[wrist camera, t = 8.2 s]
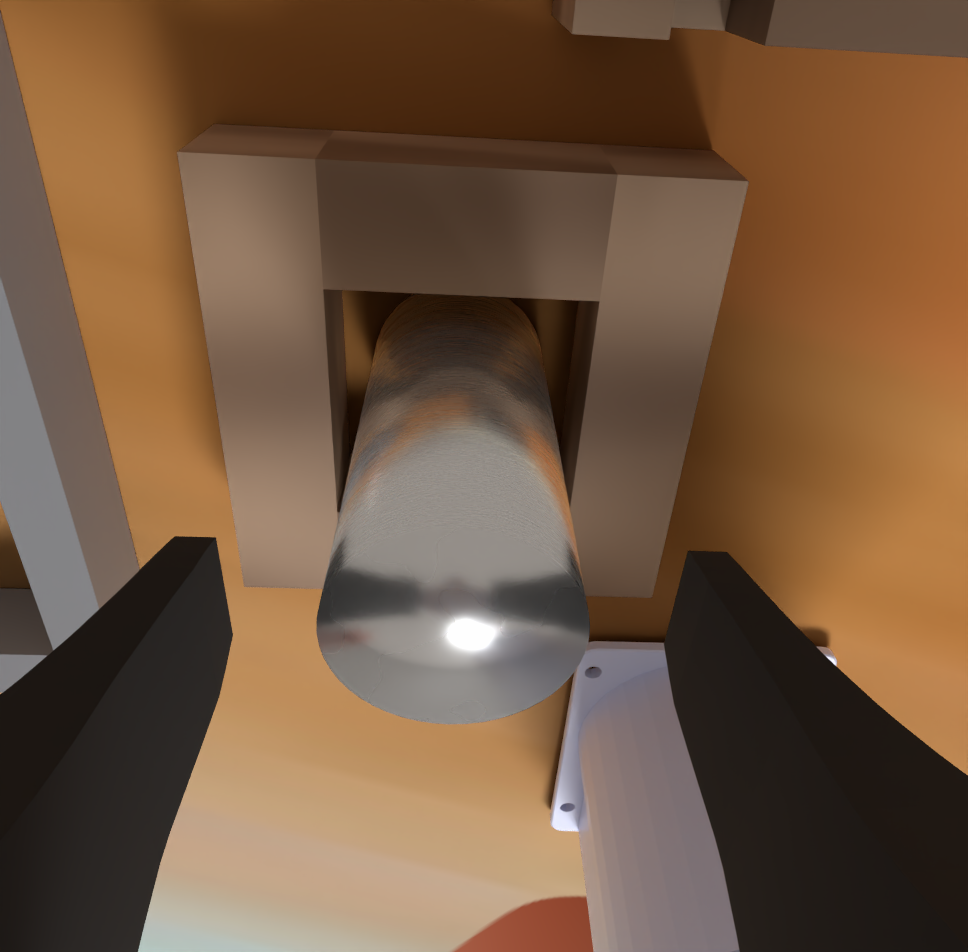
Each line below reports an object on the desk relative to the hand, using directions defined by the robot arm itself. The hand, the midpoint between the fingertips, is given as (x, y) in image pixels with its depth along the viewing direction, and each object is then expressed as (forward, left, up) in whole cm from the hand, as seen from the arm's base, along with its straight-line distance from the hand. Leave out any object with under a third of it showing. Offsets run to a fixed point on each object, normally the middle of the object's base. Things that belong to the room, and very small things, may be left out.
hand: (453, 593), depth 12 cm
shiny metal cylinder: (0, 0, -8) cm, 8 cm away
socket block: (0, 0, -8) cm, 8 cm away
